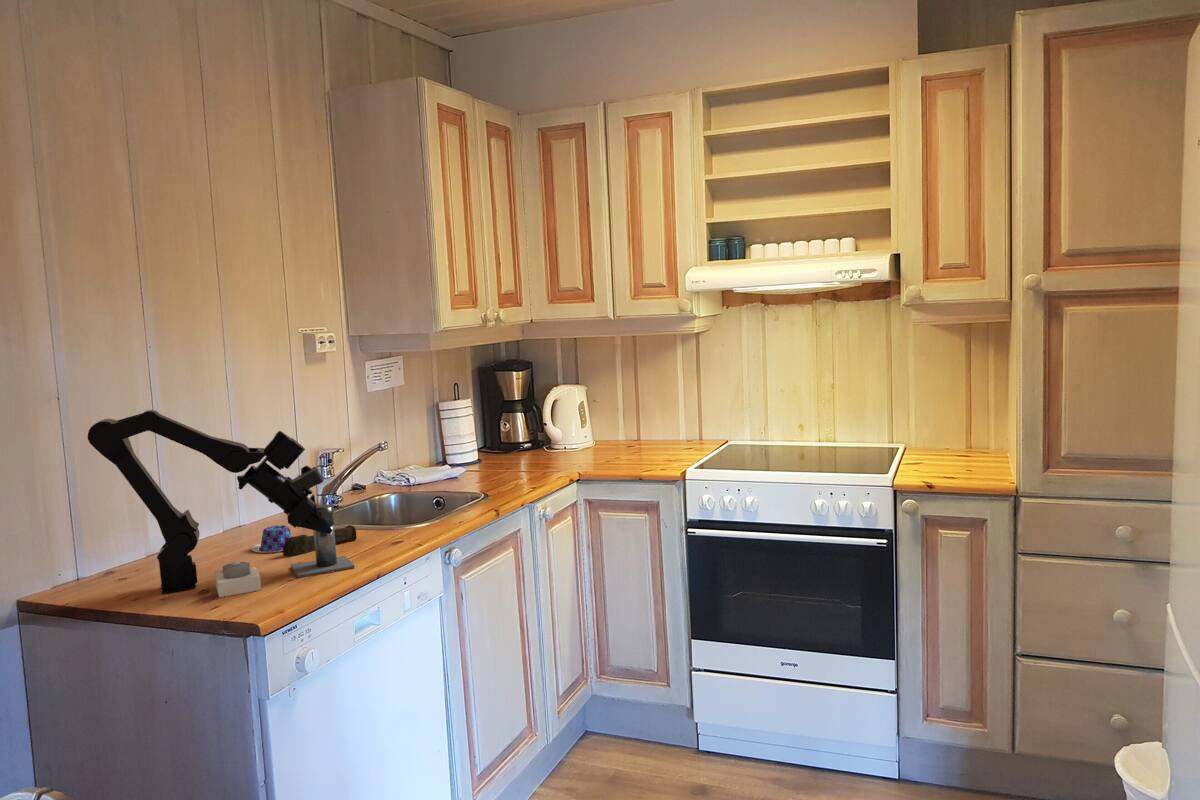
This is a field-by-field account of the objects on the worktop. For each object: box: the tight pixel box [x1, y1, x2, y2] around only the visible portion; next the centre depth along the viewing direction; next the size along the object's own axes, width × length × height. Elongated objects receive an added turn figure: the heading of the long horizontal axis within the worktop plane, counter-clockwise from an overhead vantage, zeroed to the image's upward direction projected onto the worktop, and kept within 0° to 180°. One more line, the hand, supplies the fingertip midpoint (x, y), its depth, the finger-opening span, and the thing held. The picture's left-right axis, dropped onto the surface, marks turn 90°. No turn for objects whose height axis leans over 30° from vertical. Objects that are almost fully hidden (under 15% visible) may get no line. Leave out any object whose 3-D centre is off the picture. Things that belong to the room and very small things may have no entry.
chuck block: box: [214, 561, 262, 598], centre depth 186 cm, size 8×8×6 cm
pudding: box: [251, 524, 293, 554], centre depth 220 cm, size 12×12×5 cm
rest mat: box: [290, 555, 355, 579], centre depth 199 cm, size 12×10×1 cm
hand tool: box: [282, 524, 357, 558], centre depth 217 cm, size 19×4×5 cm, turn 137°
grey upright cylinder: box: [312, 504, 338, 567], centre depth 199 cm, size 5×5×13 cm
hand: (330, 528), depth 199 cm, fingers open, 7 cm apart
